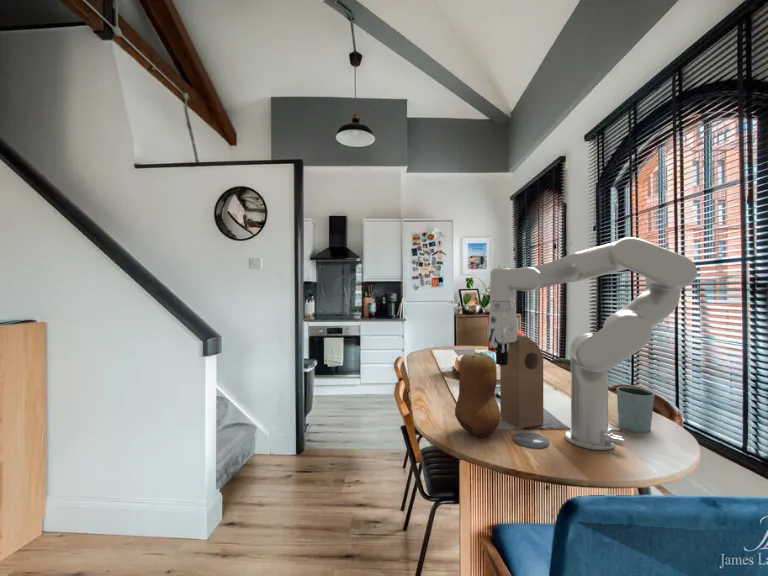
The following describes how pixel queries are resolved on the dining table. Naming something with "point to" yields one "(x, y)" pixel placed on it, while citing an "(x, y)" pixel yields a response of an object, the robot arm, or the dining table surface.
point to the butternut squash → (477, 395)
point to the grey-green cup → (635, 408)
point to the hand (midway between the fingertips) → (501, 364)
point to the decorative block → (522, 384)
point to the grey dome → (531, 440)
